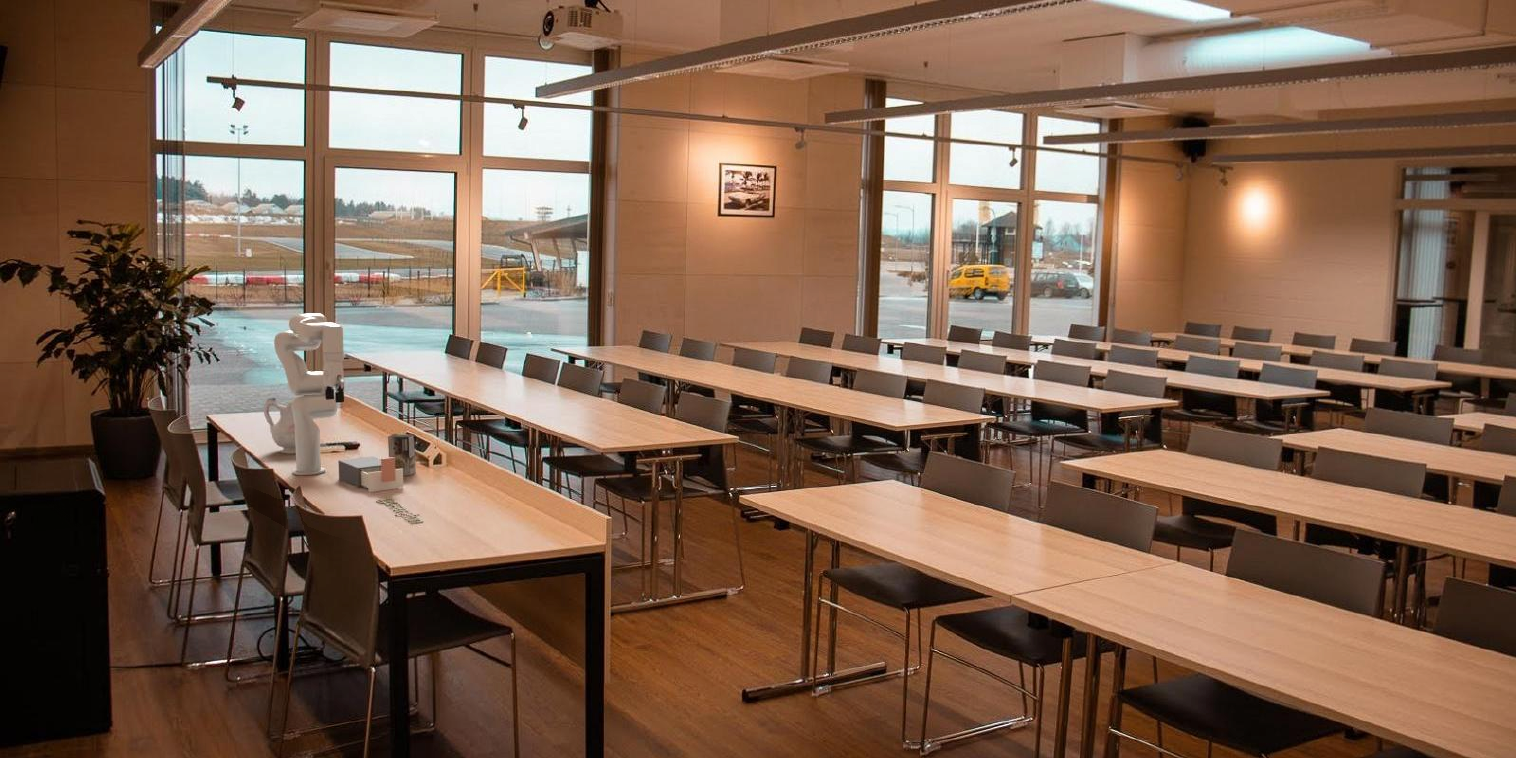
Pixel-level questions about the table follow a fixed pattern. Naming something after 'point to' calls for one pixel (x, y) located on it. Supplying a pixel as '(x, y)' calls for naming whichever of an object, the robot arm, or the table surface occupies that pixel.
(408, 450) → the coffee box
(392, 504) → the text sign
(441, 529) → the table surface
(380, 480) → the box with pink tab
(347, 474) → the low grey box
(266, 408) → the ceramic pitcher
